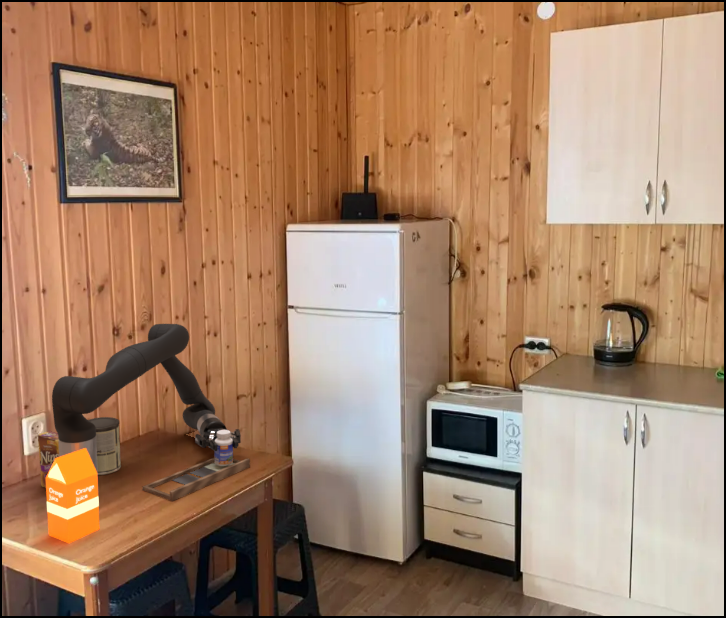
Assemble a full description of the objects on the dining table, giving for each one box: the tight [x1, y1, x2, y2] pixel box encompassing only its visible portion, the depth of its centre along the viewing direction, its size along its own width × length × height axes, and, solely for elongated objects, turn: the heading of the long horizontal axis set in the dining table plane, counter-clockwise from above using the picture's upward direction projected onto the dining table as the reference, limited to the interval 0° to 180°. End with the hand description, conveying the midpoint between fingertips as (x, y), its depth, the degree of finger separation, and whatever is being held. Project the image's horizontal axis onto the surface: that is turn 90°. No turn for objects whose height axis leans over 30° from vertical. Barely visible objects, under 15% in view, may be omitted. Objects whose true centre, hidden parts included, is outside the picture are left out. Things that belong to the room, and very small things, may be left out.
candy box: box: [37, 430, 59, 489], centre depth 200 cm, size 9×4×15 cm, turn 60°
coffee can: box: [88, 416, 122, 476], centre depth 215 cm, size 10×10×14 cm
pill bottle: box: [213, 429, 234, 466], centre depth 218 cm, size 5×5×10 cm
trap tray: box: [141, 457, 251, 502], centre depth 210 cm, size 30×12×2 cm, turn 146°
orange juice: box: [45, 448, 100, 544], centre depth 175 cm, size 8×9×20 cm
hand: (226, 446), depth 215 cm, fingers closed on pill bottle, 5 cm apart
